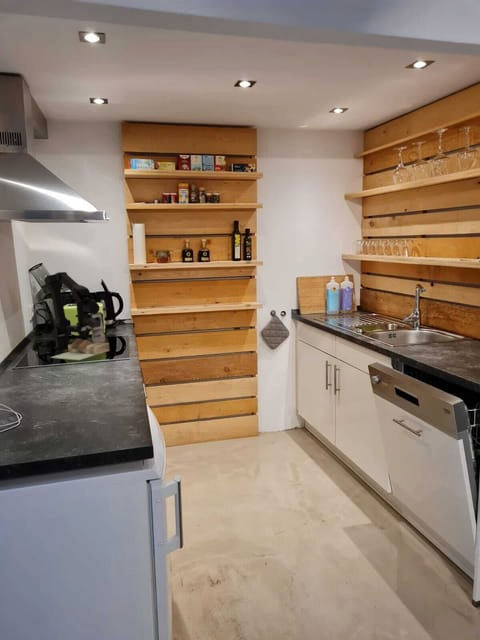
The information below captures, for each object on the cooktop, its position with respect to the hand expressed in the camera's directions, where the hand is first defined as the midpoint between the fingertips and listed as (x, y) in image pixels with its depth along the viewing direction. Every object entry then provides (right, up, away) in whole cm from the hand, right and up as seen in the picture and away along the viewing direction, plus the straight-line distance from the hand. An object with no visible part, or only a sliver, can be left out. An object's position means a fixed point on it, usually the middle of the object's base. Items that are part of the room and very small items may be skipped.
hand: (85, 342), depth 247 cm
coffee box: (-3, -1, +31) cm, 32 cm away
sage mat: (-4, -6, -8) cm, 11 cm away
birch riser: (+1, -5, +3) cm, 6 cm away
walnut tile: (-2, -2, -3) cm, 3 cm away
